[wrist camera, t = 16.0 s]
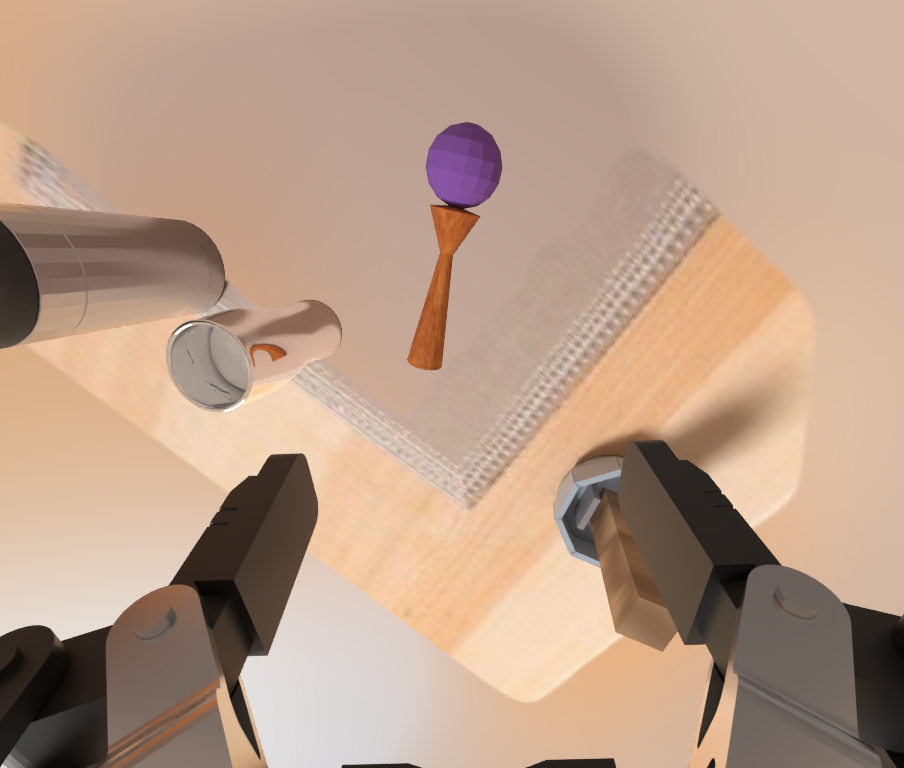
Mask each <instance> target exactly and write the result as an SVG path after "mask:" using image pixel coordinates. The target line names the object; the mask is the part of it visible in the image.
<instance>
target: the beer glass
mask: <svg viewBox="0 0 904 768" xmlns="http://www.w3.org/2000/svg"><path fill="white" fill-rule="evenodd" d="M341 338H342V328H341V324H340V321H339V319H338V317H337V315H336V314H335V313H334V311H332V309H331V308H330V307H328V306H327V305H325V304H324V303H322V302H319V301H316V300H304V301H300V302H298V303H296V304H294V305H293V306H291V307H290V308H288V309H280V308H269V307H244V308H237V309H231V310H227V311H222V312H218V313H215V314H212V315H208V316H205V317H202V318H200V319H196V320H191V321H188V322H185V323H183V324H182V325H180V326H179V327H178V328H176V329H175V331H174V332H173V333H172V335H171V336H170V338H169V341H168V344H167V348H166V363H167V368H168V371H169V374H170V377H171V379H172V381H173V383H174V384H175V386H176V388H177V389H178V390H179V392H180V393H181V394H182V395H183V396H184V397H185V398H186V399H187V400H188V401H190V402H191V403H193V404H194V405H196V406H197V407H199V408H201V409H204V410H207V411H211V412H218V413H221V412H229V411H232V410H234V409H236V408H238V407H240V406H243V405H245V404H248V403H251V402H253V401H255V400H258V399H260V398H262V397H264V396H266V395H268V394H270V393H272V392H274V391H276V390H277V389H279V388H280V387H282V386H284V385H285V384H286V383H287V382H289V381H290V380H291V379H292V378H293V377H295V376H296V375H297V374H298V373H299V372H300V371H301V370H302V369H303V368H304V367H305V366H306V365H307V364H308V363H309V362H310V361H315V360H321V359H325V358H327V357H329V356H331V355H332V354H333V353H334V352H335V351H336V350H337V349H338V347H339V345H340V342H341Z"/></svg>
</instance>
